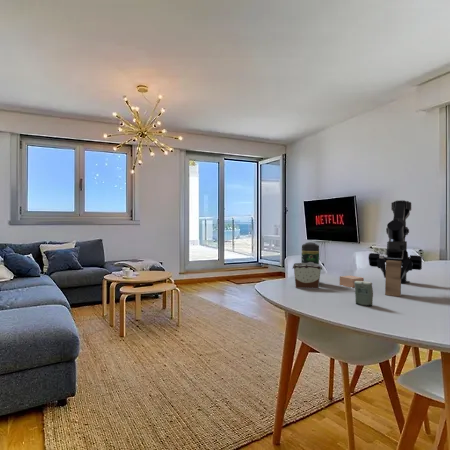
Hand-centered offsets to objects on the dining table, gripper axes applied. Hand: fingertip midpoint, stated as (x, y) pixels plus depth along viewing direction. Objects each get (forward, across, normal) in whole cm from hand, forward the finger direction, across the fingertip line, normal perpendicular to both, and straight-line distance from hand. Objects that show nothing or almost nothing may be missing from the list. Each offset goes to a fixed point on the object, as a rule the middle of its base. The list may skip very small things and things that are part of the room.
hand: (392, 277), depth 127 cm
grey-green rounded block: (+21, -7, -11) cm, 25 cm away
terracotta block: (-3, -17, +13) cm, 22 cm away
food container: (+7, -33, +3) cm, 34 cm away
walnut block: (+4, 0, +6) cm, 7 cm away
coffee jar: (0, -35, +10) cm, 36 cm away
